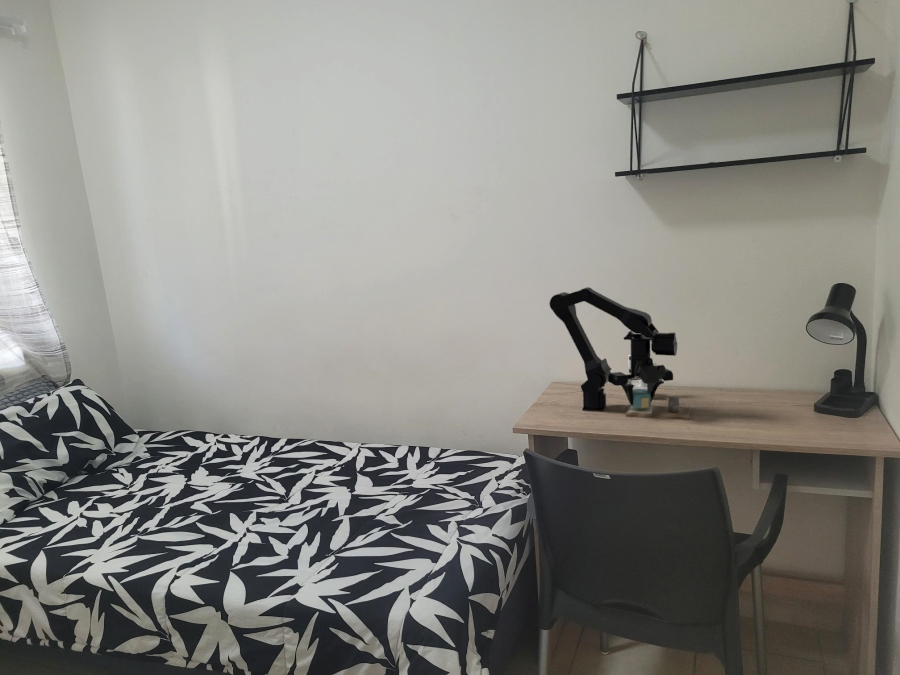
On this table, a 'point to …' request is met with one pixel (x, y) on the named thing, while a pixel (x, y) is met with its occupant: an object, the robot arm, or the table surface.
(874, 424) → the table surface
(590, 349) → the robot arm
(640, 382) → the figurine
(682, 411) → the board
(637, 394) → the cap
